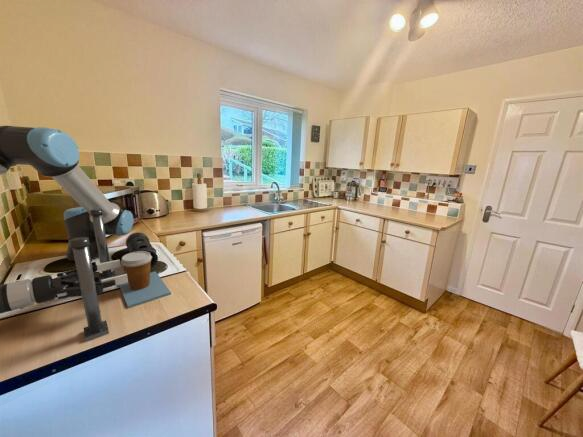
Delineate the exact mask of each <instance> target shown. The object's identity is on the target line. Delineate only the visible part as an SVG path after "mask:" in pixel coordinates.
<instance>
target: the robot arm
mask: <svg viewBox="0 0 583 437" xmlns="http://www.w3.org/2000/svg"><path fill="white" fill-rule="evenodd" d="M80 154H81V153H80V151H79V146H78V145H77V142H76V141H75V140H74V139H73V138H72V137H71V136H70V135H69V134H68V133H67V132H65V131H62V130H59V129H55V128H49V127H44V126H39V127H38V126H37V127H28V126H17V125H16V126H15V125H14V126H13V125H0V176H1V175H6V174H7V173H8V172H9V170H10V169H11V168H12V167H14V166H16V165H27V166H31V167H32V168H33V169H34V170H36V171H37V172H38V173H39V174H40V175H41V176H43V177H45V178H51V179H53V181H55V182H56V183H57V184H58V185H59V186H60V187H61V188H62V189H63V190H64V191H65V192H66V193H67V194H68V195H70V197H72V199H74V200H75V202H77V203H78V205H79V206H78V207H72V208H68V209H65V210H64V212H63V222H64V226H65V229H66V235H67V239H68V244H67V249H66V253H65V256H66V259H67V260H68V261H71V262H75V258H74V253H73V248H71V247H70V242H69V241H70V240H71V239H74V238H79V237H88V238H89V245H88V247H89V252H90V258H91V260H94V259H97V258H98V259H99V254H98V248H97V242H96V236H95V230H94V224H93V219H92V215H91V213H90V210H94V209H102V210H103V214H102V215H103V222H104V228H105V234H106V236H126V235H128V234H129V233H130V232H131V230H132V228H133V226H134V215H133V213H132V211H130V210H127V209H124V210H123V209H121V207H120V206H119V205H118V204H117V203H114V202H111V201H109V199H108V198H107V197H106V196H105V194H103V192H102V191H101V189H99V187H98V186H96V184H95V183H94V182H93V180H91V178H90V177H89V176H88V175H87V174H86V173H85V171H84V170H83V169H82V168H81V167H80V166H79V164H80ZM91 263H92V269H93V274H94V273H96V272H98V273H100V272H101V271H105V270H110V269H111V270H113V269H118V268H122V267H121V260H120V259H116V260H110V262H105V263H100V262H99V263H97V262H96V261H93V262H92V261H91ZM101 273H102V272H101ZM101 281H102V282H100V281H95V286H96V291H97V295H99V294H102V293H103V292H104V290H105V289H108V288H112V287H115V286H116V287H117V286H119V284H123V283H127V282H128V277H127V274H126V273H124V274H121V275H117V276H116V277H111V278H107V279H103V280H101ZM56 297H57V299H58V300H63V299H67V298H74V297H82V294H81V289H80V283H79V278H78V273H77V268H76V267H75V268H72V269H68V270H66V271H63V272H58V273H56V277H55V278H53V277H52V275H50V274H46V275H43V276H37V277H33V279H29V278H28V279H22V280H16V281H12V282H9V283H5V284H0V314H3V313H6V312H12V311H16V310H24V308H28V307H31V306H34V305H35V303H36V304H40V305H41V304H42V303H47V302H51V301H53V300H55V299H56Z"/></svg>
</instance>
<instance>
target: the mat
mask: <svg viewBox="0 0 583 437" xmlns="http://www.w3.org/2000/svg"><path fill="white" fill-rule="evenodd" d="M118 286H119V288H120V291H121V294H122V297H123V298H124V301H125V304H126V306H127V309H130V308H133V307H137V306H140V305H143V304H145V303H148V302H151V301H154V300H157V299H161V298H163V297H167V296H169V295H170V296H171V294H172V292H171V290H170V289H169V287H168V286H167V284H165V282H164V281H163V279H162V278H161V277H160V275H159V274H158V273H157V271H152V272H151V271H150V284H149V286H147V287H146V288H143V289H140V290H132V289H130V286H129V283H128V282H127V283H123V284H119V285H118Z"/></svg>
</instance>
